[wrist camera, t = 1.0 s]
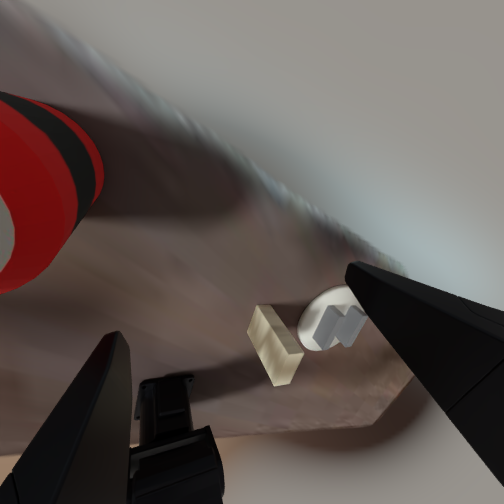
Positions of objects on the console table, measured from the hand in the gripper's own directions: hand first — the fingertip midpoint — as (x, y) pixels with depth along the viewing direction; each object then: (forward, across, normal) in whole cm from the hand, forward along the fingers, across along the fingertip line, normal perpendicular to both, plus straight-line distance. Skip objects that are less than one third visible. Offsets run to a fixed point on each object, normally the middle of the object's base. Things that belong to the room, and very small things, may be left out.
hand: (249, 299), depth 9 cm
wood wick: (+13, -5, +18) cm, 23 cm away
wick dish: (+13, -17, +24) cm, 32 cm away
